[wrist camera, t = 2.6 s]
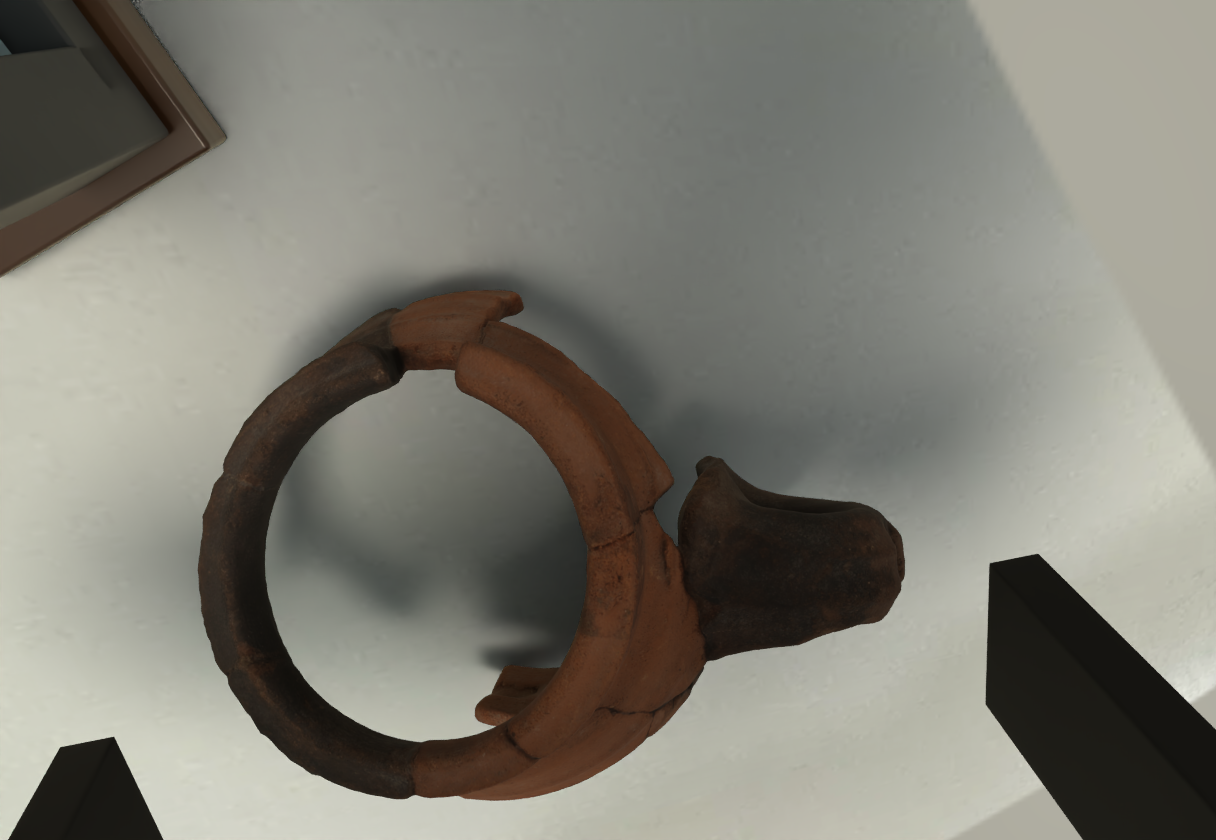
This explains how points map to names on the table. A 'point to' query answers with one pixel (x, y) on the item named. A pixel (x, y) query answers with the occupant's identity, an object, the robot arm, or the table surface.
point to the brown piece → (186, 142)
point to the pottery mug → (616, 567)
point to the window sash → (61, 107)
